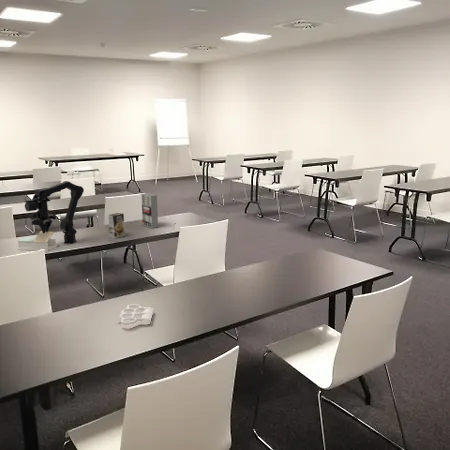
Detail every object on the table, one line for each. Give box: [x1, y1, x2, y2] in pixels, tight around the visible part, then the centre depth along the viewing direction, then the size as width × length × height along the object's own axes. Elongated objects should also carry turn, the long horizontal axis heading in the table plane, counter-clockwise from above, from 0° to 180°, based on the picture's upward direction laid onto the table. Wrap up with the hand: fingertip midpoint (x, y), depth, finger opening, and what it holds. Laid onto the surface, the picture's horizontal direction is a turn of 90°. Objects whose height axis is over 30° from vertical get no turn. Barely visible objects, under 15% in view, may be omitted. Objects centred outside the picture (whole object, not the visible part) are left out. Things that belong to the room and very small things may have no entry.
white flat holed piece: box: [119, 303, 155, 325], centre depth 184 cm, size 3×18×15 cm
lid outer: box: [17, 236, 36, 243], centre depth 285 cm, size 9×10×1 cm
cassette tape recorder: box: [140, 192, 159, 229], centre depth 339 cm, size 14×6×25 cm, turn 42°
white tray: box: [17, 238, 58, 252], centre depth 285 cm, size 20×12×5 cm, turn 80°
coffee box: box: [107, 212, 126, 239], centre depth 311 cm, size 9×6×16 cm
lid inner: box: [33, 230, 55, 243], centre depth 282 cm, size 9×10×1 cm
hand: (45, 232), depth 284 cm, fingers open, 3 cm apart
